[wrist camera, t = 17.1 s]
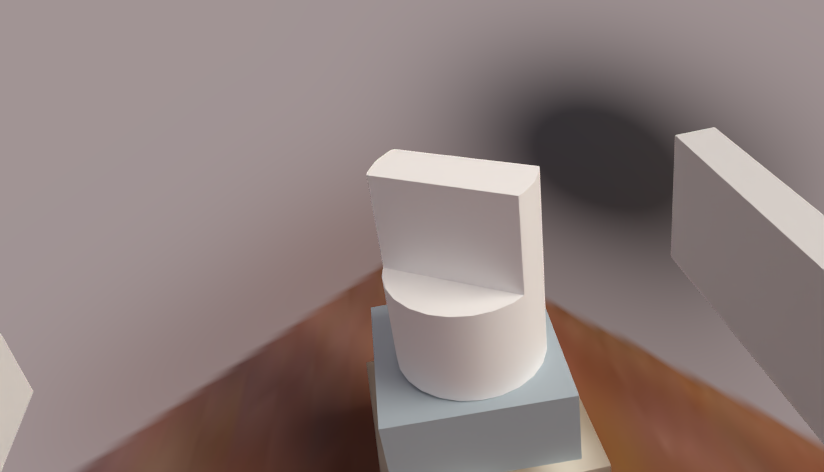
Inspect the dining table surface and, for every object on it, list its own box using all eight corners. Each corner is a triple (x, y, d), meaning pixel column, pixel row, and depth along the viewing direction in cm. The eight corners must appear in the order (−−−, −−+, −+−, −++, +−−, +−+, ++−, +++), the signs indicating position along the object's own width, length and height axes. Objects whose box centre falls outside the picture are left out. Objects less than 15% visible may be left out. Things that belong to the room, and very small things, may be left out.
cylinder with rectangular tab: (566, 315, 47) (563, 140, 41) (515, 418, 41) (501, 230, 34) (435, 288, 51) (412, 125, 45) (369, 379, 45) (332, 203, 38)
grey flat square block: (393, 490, 44) (378, 429, 41) (383, 363, 53) (371, 307, 51) (581, 458, 44) (579, 395, 41) (539, 337, 53) (534, 279, 51)
